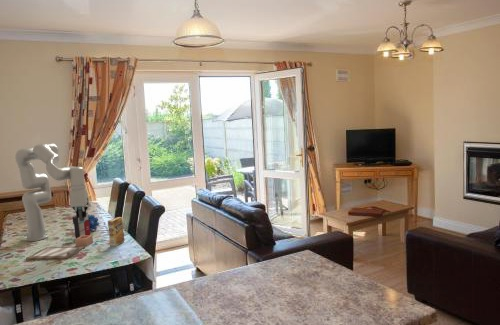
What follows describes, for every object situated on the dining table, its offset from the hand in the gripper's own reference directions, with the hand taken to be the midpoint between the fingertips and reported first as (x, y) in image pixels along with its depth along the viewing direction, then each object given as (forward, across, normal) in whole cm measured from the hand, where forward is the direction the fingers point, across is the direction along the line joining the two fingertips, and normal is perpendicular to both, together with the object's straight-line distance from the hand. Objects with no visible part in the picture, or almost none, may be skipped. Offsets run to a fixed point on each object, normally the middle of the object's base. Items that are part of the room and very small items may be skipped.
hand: (81, 217), depth 230 cm
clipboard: (+17, -8, -16) cm, 25 cm away
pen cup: (+17, 0, 0) cm, 17 cm away
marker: (+3, 0, 0) cm, 3 cm away
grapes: (+17, -11, +28) cm, 35 cm away
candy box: (+17, +21, 0) cm, 27 cm away
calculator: (+17, -9, +14) cm, 24 cm away
